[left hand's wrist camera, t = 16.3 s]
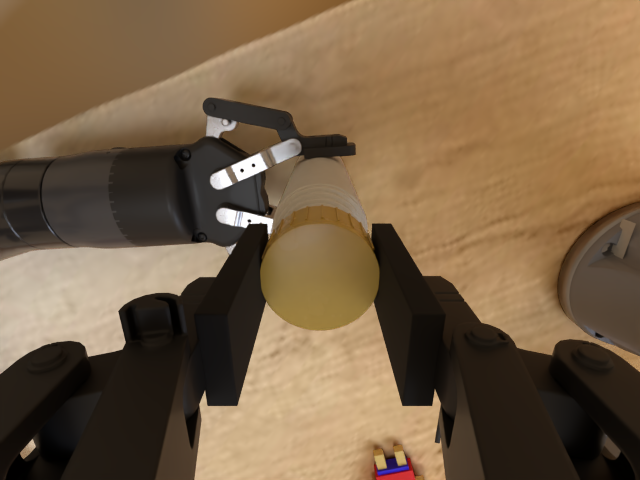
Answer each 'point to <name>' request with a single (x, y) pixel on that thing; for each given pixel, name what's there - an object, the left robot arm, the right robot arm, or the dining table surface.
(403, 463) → the toy figure
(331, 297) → the cap
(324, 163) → the bottle
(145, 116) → the dining table surface
